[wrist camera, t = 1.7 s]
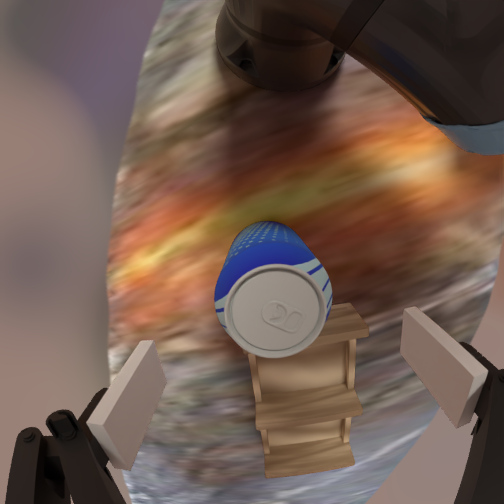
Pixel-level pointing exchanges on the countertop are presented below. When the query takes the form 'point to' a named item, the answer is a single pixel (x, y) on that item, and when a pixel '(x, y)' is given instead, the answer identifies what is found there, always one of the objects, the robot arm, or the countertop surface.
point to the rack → (310, 399)
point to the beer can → (272, 292)
